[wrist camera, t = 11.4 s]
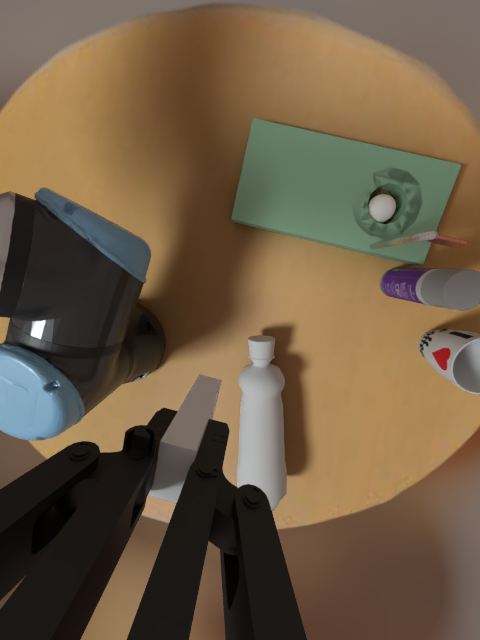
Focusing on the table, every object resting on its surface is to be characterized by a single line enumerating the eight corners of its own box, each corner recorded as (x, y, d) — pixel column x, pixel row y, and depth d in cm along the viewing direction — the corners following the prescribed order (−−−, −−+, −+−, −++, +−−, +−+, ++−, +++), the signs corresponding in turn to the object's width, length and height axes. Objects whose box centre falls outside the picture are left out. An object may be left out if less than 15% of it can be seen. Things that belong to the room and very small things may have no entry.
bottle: (295, 491, 48) (299, 336, 43) (269, 528, 41) (270, 349, 36) (255, 469, 54) (255, 330, 49) (227, 499, 47) (222, 340, 42)
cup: (432, 311, 43) (482, 324, 33) (470, 338, 43) (531, 359, 33) (399, 349, 44) (437, 372, 34) (435, 375, 45) (484, 405, 35)
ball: (362, 226, 39) (390, 229, 38) (371, 200, 36) (402, 202, 35) (361, 214, 41) (388, 216, 41) (370, 188, 38) (399, 190, 38)
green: (233, 222, 42) (231, 218, 39) (253, 129, 39) (252, 117, 36) (411, 264, 41) (423, 264, 38) (446, 172, 38) (461, 164, 35)
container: (373, 284, 42) (432, 292, 28) (395, 262, 41) (468, 259, 27) (393, 302, 43) (461, 320, 28) (415, 281, 42) (498, 288, 27)
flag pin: (369, 248, 39) (428, 238, 25) (371, 243, 38) (431, 229, 25) (393, 254, 38) (466, 247, 25) (395, 249, 38) (470, 238, 25)
